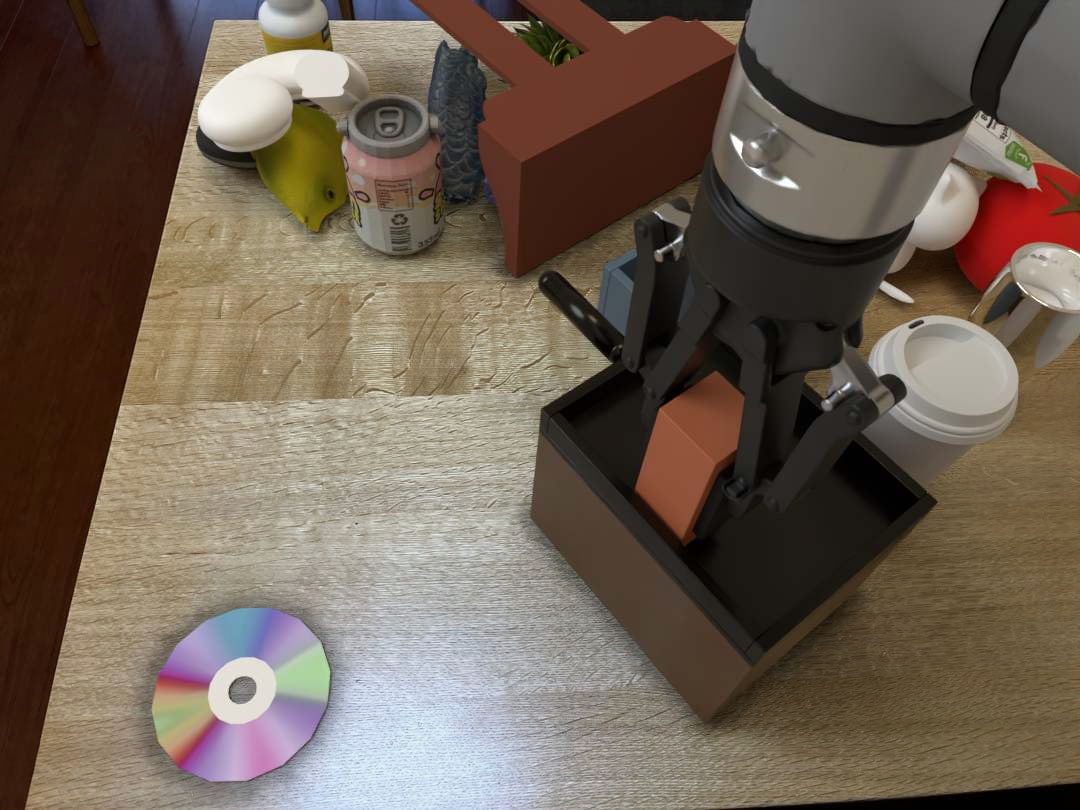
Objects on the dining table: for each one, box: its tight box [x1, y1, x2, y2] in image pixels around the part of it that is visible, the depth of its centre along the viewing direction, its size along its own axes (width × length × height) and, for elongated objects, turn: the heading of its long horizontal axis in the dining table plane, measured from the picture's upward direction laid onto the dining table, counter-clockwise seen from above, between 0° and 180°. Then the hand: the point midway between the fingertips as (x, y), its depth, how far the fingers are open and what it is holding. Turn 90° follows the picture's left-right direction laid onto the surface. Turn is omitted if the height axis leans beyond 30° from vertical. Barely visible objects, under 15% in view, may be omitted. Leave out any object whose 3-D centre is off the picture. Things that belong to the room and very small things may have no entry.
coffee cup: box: [861, 314, 1019, 489], centre depth 62 cm, size 10×10×15 cm
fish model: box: [427, 38, 488, 206], centre depth 85 cm, size 7×21×5 cm, turn 4°
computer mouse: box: [195, 99, 300, 172], centre depth 83 cm, size 7×12×4 cm, turn 159°
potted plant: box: [495, 12, 584, 89], centre depth 84 cm, size 12×13×15 cm
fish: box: [250, 100, 349, 233], centre depth 81 cm, size 3×16×10 cm
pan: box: [529, 269, 939, 725], centre depth 59 cm, size 28×15×15 cm, turn 38°
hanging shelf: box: [408, 0, 737, 278], centre depth 82 cm, size 24×13×30 cm
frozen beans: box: [952, 110, 1042, 192], centre depth 75 cm, size 21×6×25 cm
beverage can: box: [336, 93, 446, 256], centre depth 75 cm, size 9×8×12 cm
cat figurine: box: [878, 161, 987, 304], centre depth 76 cm, size 9×11×12 cm
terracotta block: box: [634, 371, 745, 546], centre depth 47 cm, size 4×4×10 cm
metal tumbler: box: [966, 242, 1080, 387], centre depth 67 cm, size 7×7×15 cm
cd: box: [151, 607, 332, 783], centre depth 57 cm, size 11×11×1 cm
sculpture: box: [197, 50, 371, 152], centre depth 73 cm, size 12×15×8 cm
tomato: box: [954, 162, 1080, 293], centre depth 76 cm, size 14×13×10 cm
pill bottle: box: [257, 0, 334, 107], centre depth 85 cm, size 6×6×12 cm
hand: (684, 491), depth 50 cm, fingers closed on terracotta block, 4 cm apart
